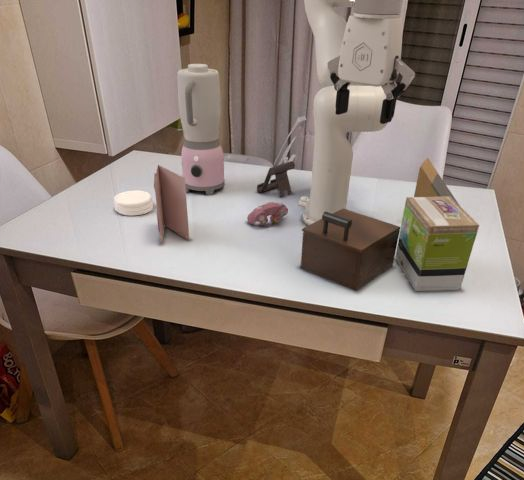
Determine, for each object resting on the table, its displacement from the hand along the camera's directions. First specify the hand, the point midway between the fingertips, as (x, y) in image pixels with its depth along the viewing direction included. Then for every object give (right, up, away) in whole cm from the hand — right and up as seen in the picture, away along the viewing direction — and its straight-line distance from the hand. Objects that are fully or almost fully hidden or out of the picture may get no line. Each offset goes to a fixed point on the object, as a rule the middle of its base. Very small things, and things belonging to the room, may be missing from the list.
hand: (362, 117), depth 93 cm
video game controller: (-17, -11, +36) cm, 41 cm away
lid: (0, -18, +12) cm, 22 cm away
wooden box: (0, -25, +17) cm, 30 cm away
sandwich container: (+28, -11, +37) cm, 48 cm away
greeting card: (-40, -15, +29) cm, 52 cm away
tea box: (+17, -27, +15) cm, 35 cm away
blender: (-36, +4, +54) cm, 65 cm away
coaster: (-53, -5, +41) cm, 68 cm away
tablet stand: (-15, +3, +54) cm, 56 cm away
